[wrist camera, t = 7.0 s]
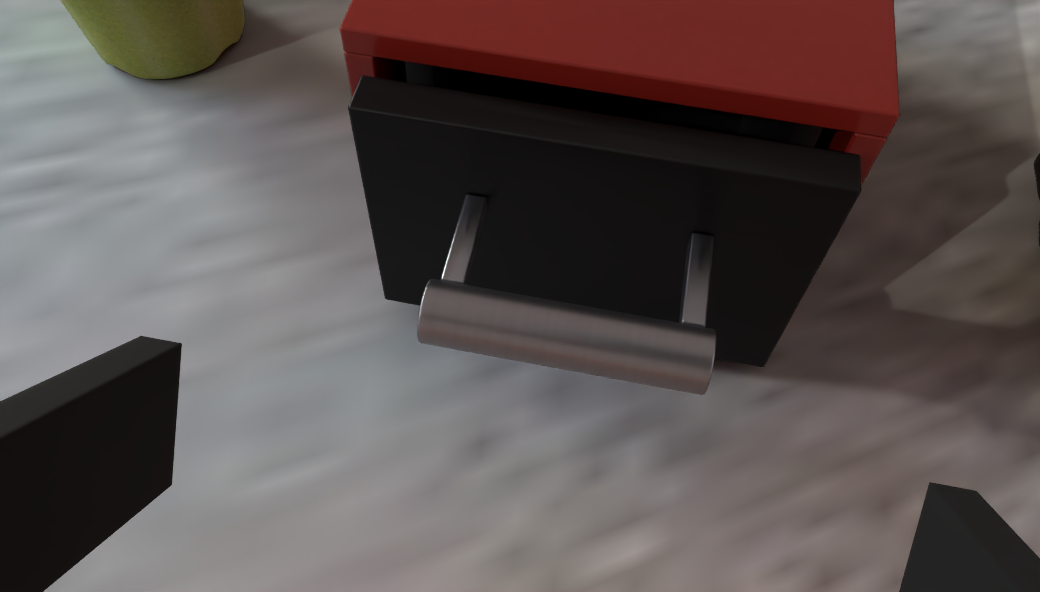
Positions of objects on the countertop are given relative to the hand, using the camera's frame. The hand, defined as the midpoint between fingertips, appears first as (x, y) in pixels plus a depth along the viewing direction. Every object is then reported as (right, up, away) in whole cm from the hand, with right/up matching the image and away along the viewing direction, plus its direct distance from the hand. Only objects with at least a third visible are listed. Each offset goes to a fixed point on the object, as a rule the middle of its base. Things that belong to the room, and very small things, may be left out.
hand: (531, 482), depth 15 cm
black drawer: (+2, +6, +16) cm, 17 cm away
